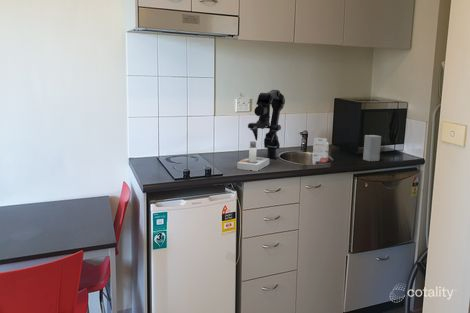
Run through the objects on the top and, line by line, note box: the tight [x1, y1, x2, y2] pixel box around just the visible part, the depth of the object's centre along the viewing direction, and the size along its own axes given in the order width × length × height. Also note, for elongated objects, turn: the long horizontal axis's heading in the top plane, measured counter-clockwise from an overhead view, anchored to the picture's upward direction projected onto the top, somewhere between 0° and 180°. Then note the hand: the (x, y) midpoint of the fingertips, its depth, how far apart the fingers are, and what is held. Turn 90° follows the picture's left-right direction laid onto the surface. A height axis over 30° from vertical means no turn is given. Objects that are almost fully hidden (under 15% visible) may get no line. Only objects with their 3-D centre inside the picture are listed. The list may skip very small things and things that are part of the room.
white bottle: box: [248, 140, 257, 164], centre depth 238 cm, size 4×4×15 cm
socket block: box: [236, 156, 271, 172], centre depth 244 cm, size 20×12×4 cm, turn 156°
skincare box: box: [362, 134, 382, 162], centre depth 268 cm, size 8×7×16 cm
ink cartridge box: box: [312, 137, 330, 163], centre depth 262 cm, size 9×5×15 cm, turn 62°
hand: (263, 141), depth 252 cm, fingers open, 9 cm apart
